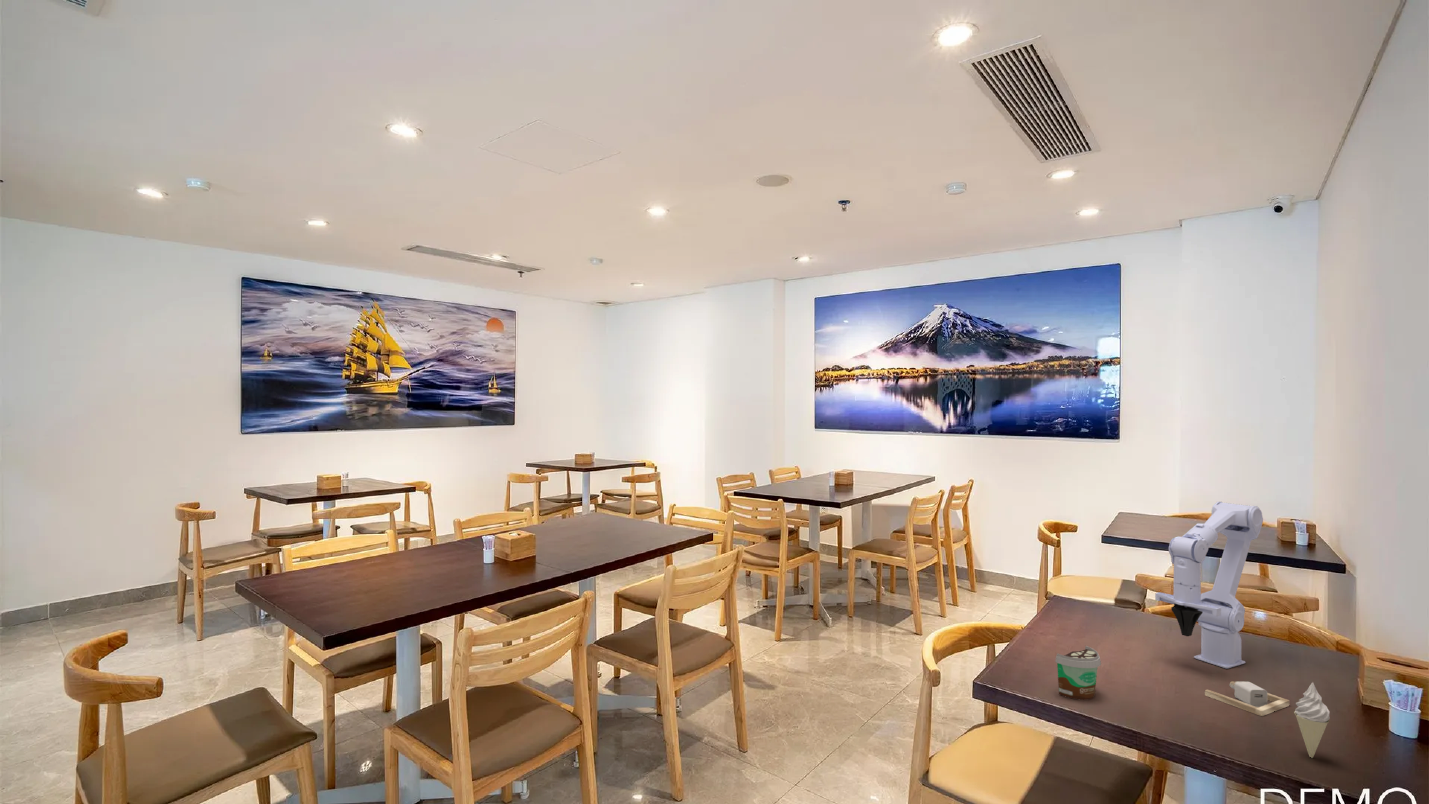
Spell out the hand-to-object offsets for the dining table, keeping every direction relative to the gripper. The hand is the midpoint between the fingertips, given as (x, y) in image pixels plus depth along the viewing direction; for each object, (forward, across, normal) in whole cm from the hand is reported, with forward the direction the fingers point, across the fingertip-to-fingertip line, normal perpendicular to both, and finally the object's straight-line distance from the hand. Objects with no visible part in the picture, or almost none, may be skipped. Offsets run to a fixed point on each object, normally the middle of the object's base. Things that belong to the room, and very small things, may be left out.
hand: (1186, 635), depth 164 cm
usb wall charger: (+10, +15, -5) cm, 19 cm away
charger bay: (+9, +15, -6) cm, 19 cm away
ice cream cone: (+10, +34, -23) cm, 42 cm away
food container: (+10, -2, -39) cm, 40 cm away
